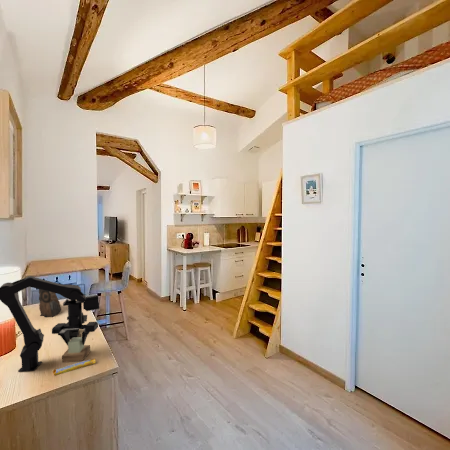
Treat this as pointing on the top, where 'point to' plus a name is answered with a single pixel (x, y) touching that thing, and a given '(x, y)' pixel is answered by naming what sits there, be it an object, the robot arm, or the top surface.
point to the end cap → (73, 333)
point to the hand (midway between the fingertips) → (76, 345)
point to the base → (76, 355)
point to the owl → (48, 304)
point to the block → (75, 345)
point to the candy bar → (74, 366)
